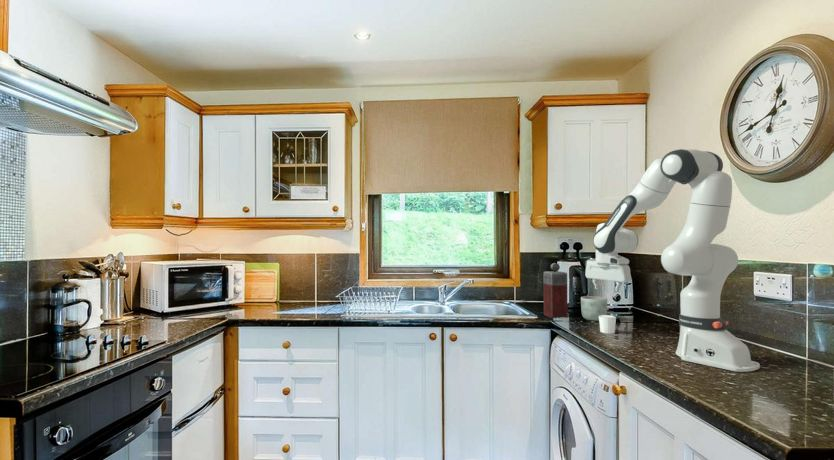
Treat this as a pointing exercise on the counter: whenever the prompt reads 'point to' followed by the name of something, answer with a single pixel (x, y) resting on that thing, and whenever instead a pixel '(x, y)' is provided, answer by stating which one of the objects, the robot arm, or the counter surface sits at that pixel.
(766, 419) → the counter surface
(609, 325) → the shot glass
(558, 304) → the red decanter
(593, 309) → the planter
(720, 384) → the counter surface
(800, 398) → the counter surface
